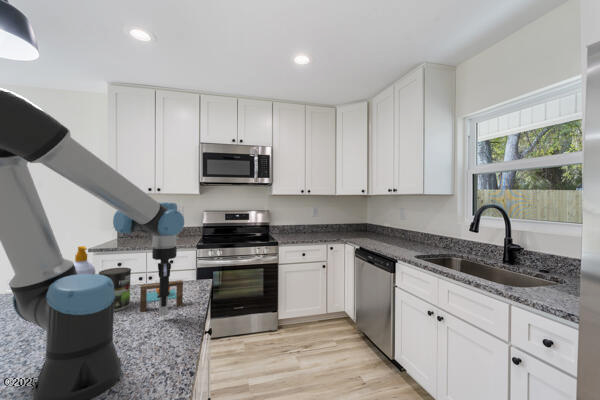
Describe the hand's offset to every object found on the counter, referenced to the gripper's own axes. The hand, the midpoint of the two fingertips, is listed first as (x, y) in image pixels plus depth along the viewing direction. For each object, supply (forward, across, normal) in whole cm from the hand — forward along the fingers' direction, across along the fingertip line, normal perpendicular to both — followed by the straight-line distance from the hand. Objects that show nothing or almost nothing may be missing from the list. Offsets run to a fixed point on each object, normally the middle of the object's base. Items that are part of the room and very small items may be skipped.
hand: (163, 314), depth 93 cm
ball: (-1, +26, -1) cm, 26 cm away
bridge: (+2, +13, 0) cm, 13 cm away
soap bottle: (+2, +23, +27) cm, 35 cm away
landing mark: (+2, +27, 0) cm, 27 cm away
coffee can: (+2, +21, +16) cm, 27 cm away
